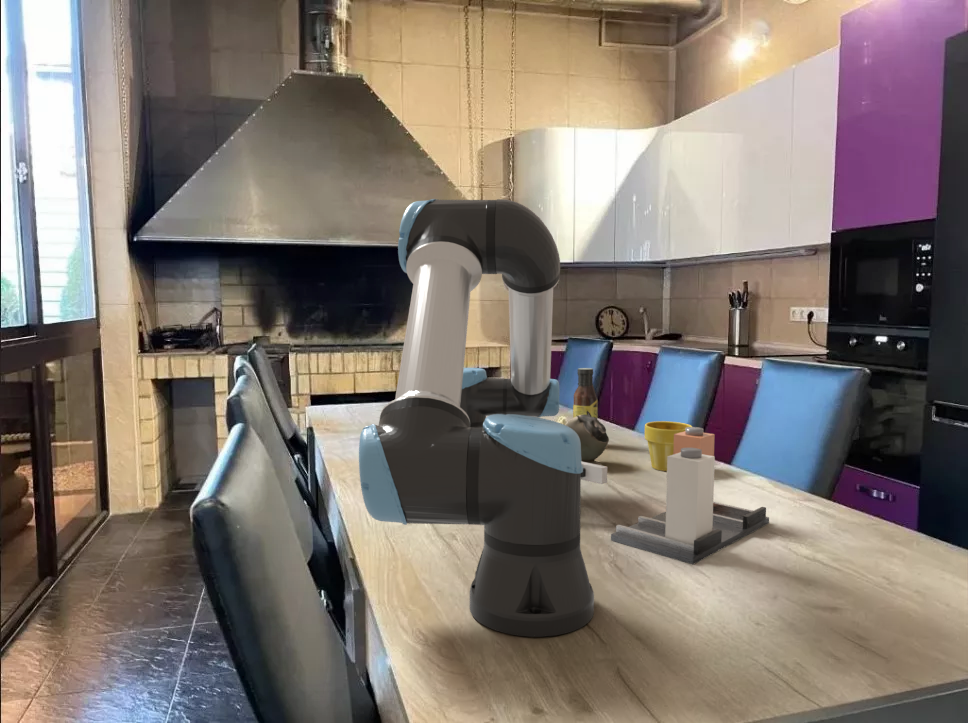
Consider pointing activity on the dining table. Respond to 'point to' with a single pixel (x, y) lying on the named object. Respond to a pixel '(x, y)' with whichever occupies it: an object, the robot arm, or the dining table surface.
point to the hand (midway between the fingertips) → (604, 475)
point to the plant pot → (662, 441)
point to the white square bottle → (689, 495)
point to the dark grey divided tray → (725, 531)
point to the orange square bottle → (694, 440)
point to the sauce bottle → (585, 394)
